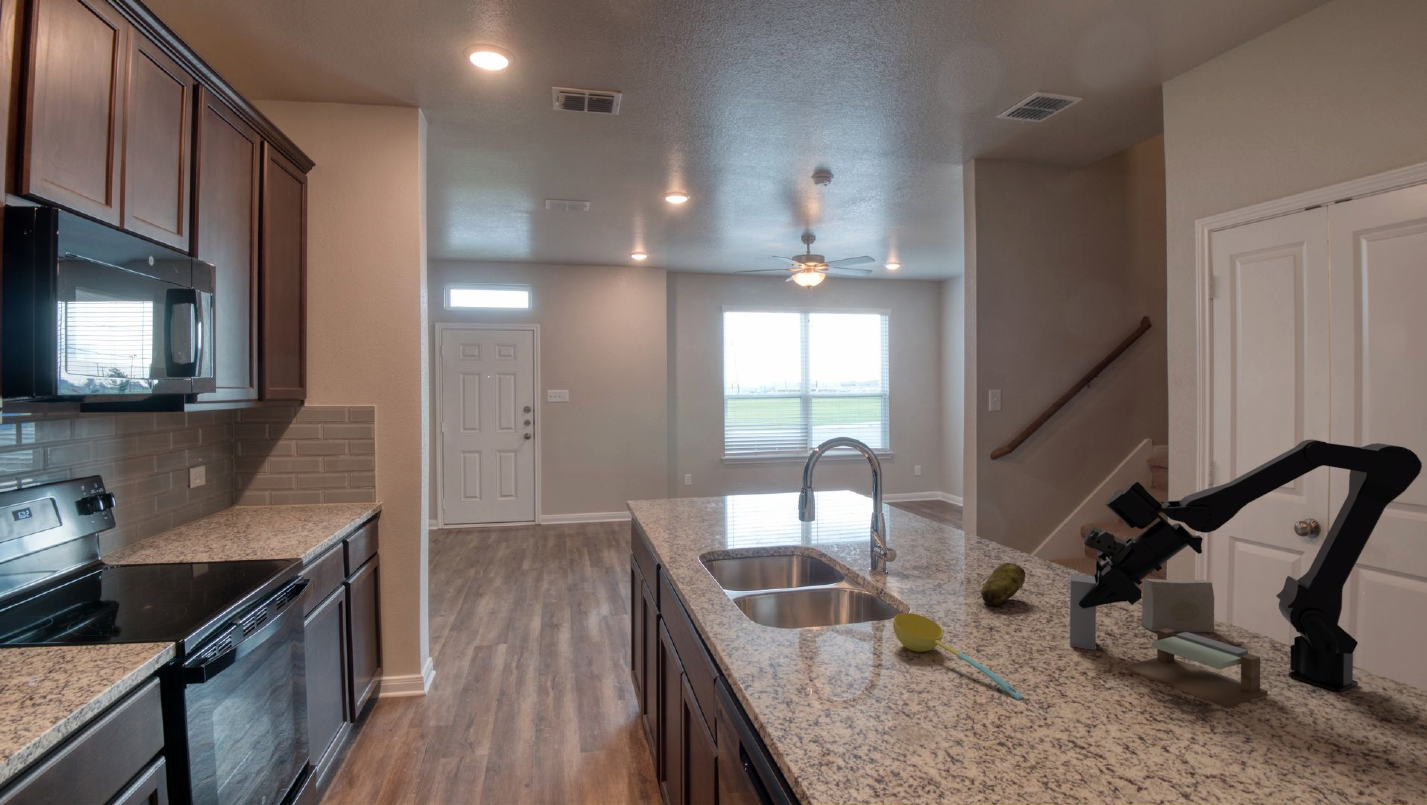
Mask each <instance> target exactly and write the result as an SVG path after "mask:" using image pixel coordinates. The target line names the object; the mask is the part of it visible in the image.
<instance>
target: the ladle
mask: <svg viewBox="0 0 1427 805" xmlns="http://www.w3.org/2000/svg"><path fill="white" fill-rule="evenodd" d="M892 628H893V632H894V635H895V636H896V639H897V640H898V641H899V642H900V644H901V645H902V646H903V647H905V648H906V649H908V650H911V651H914V652H917V653H925V652H929V651H932V650H933V649H935V648H936V647H937V646H939V647H941V648H943V649H945V650H946V651H947V652H949V653H952V654H953V655H954V656H956V657H958V658H959V659H961V660H963V662H964V661H965V662H966V663H968V664H969V665H971V666H972V667H974V668H976V669H977V670H978V671H980V672H981V673H983V674H984V675H986V677H988V678H989V679H990V680H992V681H993V682H995V683H996V684H997V685H998V686H1000V687H1001V688H1002V689H1004V691H1006V692H1007V693H1008V694H1009V695H1010V696H1012V697H1013V698H1014V699H1015V700H1017V701H1019V700H1024V699H1025V697H1024V696H1023V695H1022V694H1021V693H1020V692H1019V691H1018V690H1016V689H1015V688H1014V687H1012V686H1011V685H1010V684H1009V683H1008V682H1006V681H1005V680H1004V679H1003V678H1001V676H998V675H997V674H996V673H994V672H993V671H992V670H990V669H989V668H987V667H985V666H984V665H982V664H980V663H979V662H977V661H976V660H974V659H972V658H971V657H970V656H967V655H965V654H964V653H961V652H959V651H958V650H956V649H955V648H952V647H951V646H949V645H947V644H945V643H944V642H941V641H942V639H943V637H944V630H943V628H942V627H941V626H940V624H938V623H937V622H935V621H934V620H932V619H931V618H928V617H926V616H924V615H920V614H917V613H911V612H910V613H909V612H903V613H901V612H900V613H898V614H896V615H895V616H894V617H893V623H892Z"/></svg>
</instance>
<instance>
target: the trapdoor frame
mask: <svg viewBox="0 0 1427 805" xmlns="http://www.w3.org/2000/svg"><path fill="white" fill-rule="evenodd" d="M1156 633H1157V634H1156V635H1157V640H1161V639H1165V638H1169V637H1173V636H1174V637H1176V634H1175V633H1176V632H1175V631H1174V630H1171V629H1167V628H1164V629H1160V630H1157V632H1156ZM1157 640H1156V641H1157ZM1156 650H1157V651H1156V652H1157V653H1156V654H1157V655H1156V657H1154V658H1151V659H1146V660H1145V661H1140V662H1136V663H1133V664H1129V665H1125V666H1124V670H1127V671H1130V672H1131V673H1134V674H1137V675H1140V676H1142V677H1145V678H1147V679H1150V680H1153V681H1155V682H1158V683H1159V684H1163V685H1166V686H1169V687H1171V688H1173V689H1176V690H1179V691H1182V692H1185V693H1187V694H1189V695H1192V696H1194V697H1197V698H1200V699H1201V700H1202V699H1203V700H1205V701H1209V702H1211V703H1212V704H1213V703H1214V704H1215V705H1219V706H1221V707H1224V708H1226V709H1227V708H1229V707H1233V706H1236V705H1238V704H1242V703H1244V702H1246V701H1249V700H1253V699H1254V698H1255V699H1256V698H1258V697H1260V696H1263V695H1266V694H1268V690H1267V689H1265V688H1264V689H1263V688H1261V656H1258V655H1255V654H1251V653H1248V654H1247V655H1244V656H1241V664H1240V680H1238V679H1234V678H1233V677H1229V676H1225V675H1224V674H1220V673H1218V672H1215V671H1212V670H1208V669H1205V668H1202V667H1201V666H1198V665H1194V664H1190V663H1188V662H1185V661H1183V660H1179V659H1176V658H1175V655H1174V654H1171V653H1168V652H1165V651H1163V650H1160V649H1157V648H1156Z"/></svg>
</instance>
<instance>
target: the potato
mask: <svg viewBox="0 0 1427 805" xmlns="http://www.w3.org/2000/svg"><path fill="white" fill-rule="evenodd" d="M1025 580H1026V571H1025V569H1024V568H1022V567H1021V566H1020V565H1018V564H1016V563H1013V562H1012V563H1011V562H1003V563H1001V564H999V565H998V566H997V567H996V568H995V569H994V570H993V571H992V573H991V574H990V575H989V577H988V578H987V580H986V581H985V583H984V584H983V586H982V588H981V591H980V594H981V598H982V600H983V601H984V603H986V604H988V605H989V606H998V605H1000V604H1003V603H1004V602H1006V601H1008V600H1009V599H1010V598H1012V597H1013V596H1014V595H1015V594H1017V592H1018V591H1019V590H1020V589H1022V588H1023V585H1025V584H1024V583H1025Z"/></svg>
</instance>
